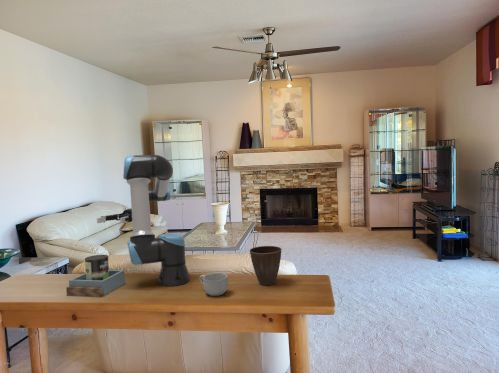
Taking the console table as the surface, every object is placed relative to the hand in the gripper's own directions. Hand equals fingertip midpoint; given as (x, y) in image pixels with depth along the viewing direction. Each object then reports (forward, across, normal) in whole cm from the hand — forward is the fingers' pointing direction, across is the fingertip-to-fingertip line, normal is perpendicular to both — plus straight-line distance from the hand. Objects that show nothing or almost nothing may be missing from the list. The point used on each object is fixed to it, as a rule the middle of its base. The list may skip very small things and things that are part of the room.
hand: (109, 220), depth 192 cm
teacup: (+17, -61, -30) cm, 70 cm away
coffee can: (+18, -4, -29) cm, 34 cm away
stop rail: (+27, -4, -30) cm, 41 cm away
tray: (+18, -4, -30) cm, 35 cm away
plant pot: (+1, -82, -30) cm, 87 cm away
